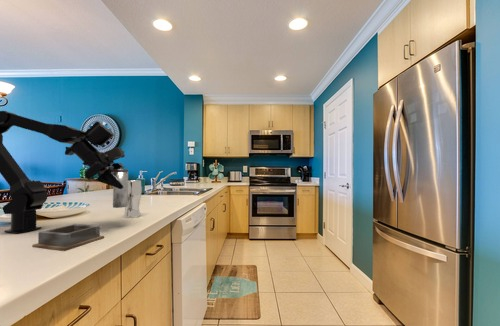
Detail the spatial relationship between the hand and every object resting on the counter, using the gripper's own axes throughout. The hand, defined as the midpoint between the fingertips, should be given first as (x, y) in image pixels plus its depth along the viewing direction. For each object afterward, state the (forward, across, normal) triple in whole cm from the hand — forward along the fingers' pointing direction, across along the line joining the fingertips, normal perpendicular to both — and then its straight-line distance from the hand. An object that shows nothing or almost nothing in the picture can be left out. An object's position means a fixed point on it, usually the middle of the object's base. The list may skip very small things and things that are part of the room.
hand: (124, 187), depth 81 cm
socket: (+4, -16, +15) cm, 23 cm away
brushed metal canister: (+4, 0, +6) cm, 7 cm away
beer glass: (+8, +18, +12) cm, 23 cm away
